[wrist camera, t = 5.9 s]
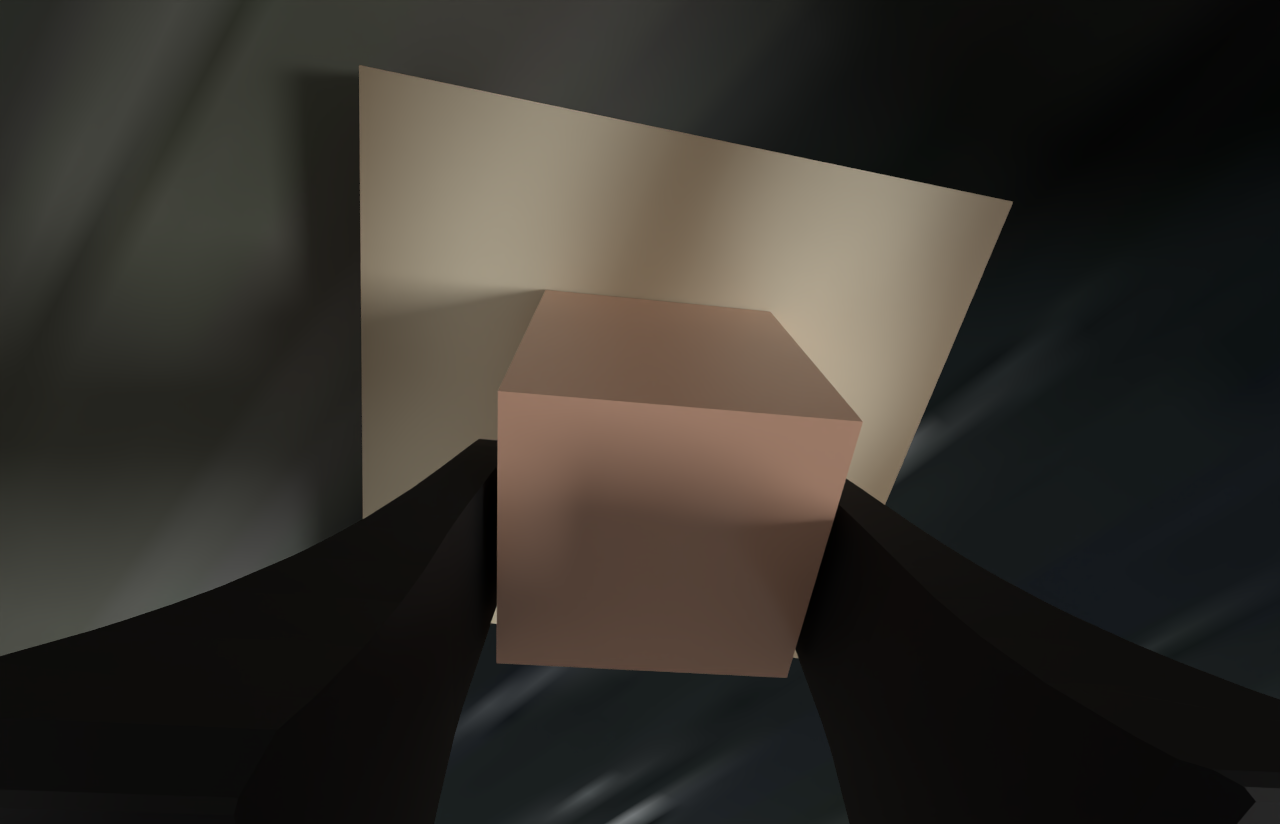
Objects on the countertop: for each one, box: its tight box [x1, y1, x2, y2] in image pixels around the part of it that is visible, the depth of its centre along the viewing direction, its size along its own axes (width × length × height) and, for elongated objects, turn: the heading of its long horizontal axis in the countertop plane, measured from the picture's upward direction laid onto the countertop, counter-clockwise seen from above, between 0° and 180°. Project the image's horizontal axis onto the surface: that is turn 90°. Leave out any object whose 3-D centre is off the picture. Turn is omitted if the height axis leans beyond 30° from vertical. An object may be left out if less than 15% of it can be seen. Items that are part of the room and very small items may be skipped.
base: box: [359, 65, 1013, 658], centre depth 14 cm, size 12×12×2 cm
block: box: [497, 290, 863, 678], centre depth 10 cm, size 4×4×5 cm
